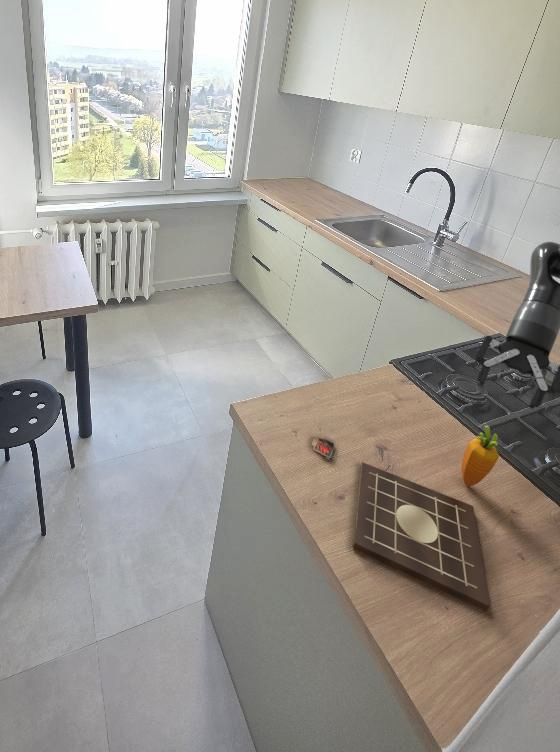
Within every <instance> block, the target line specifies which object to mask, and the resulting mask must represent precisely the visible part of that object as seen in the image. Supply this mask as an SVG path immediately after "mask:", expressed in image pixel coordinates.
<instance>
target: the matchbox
mask: <svg viewBox="0 0 560 752" xmlns="http://www.w3.org/2000/svg"><path fill="white" fill-rule="evenodd" d="M311 446H313V448H312V450H314V451H316V452H317V453H320V454H321V455H322V456H325V457H324V458H325V459H326V460H328V461H332V459H330V458H331V457H332V455H333V452H334V449H335V443H334V442H333V441H331V440H328V439H326V438H322V437H318V438H313V439H311Z"/></svg>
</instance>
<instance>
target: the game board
mask: <svg viewBox="0 0 560 752" xmlns="http://www.w3.org/2000/svg"><path fill="white" fill-rule="evenodd" d="M358 479H359V480H358V489H357V499H356V500H357V501H356V513H355V520H354V532H353V540H352V542H353V543H352V548H353V549H354V550H356V551H358V552H361V553H363V554H365V555H366V556H369V557H371V558H373V559H375V560H378V561H380V562H381V563H384V564H386V565H388V566H390V567H392V568H394V569H397V570H398V571H401V572H403V573H405V574H406V575H409V576H411V577H413V578H414V579H418V580H419V581H422V582H424V583H426V584H428V585H430V586H432V587H434V588H436V589H439V590H440V591H442V592H444V593H447V594H449V595H452V596H454V597H456V598H457V599H460V600H462V601H464V602H466V603H468V604H470V605H472V606H474V607H477V608H478V609H480V610H483V611H485V612H488V610H489V609H490V607H491V604H490V599H489V592H488V585H487V580H486V575H485V567H484V563H483V562H484V561H483V556H482V551H481V545H480V538H479V532H478V526H477V521H476V514H475V507H474V505H472V504H469V503H466V502H464V501H462V500H459V499H457V498H454V497H452V496H449V495H447V494H444V493H441V492H439V491H437V490H434V489H432V488H429V487H427V486H423V485H421V484H418V483H416V482H414V481H411V480H408V479H406V478H404V477H401V476H398V475H397V474H394V473H392V472H388V471H386V470H383V469H380V468H379V467H376V466H373V465H371V464H368V463H365V462H363V461H361V464H360V468H359V478H358Z"/></svg>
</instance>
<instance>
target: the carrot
mask: <svg viewBox="0 0 560 752" xmlns="http://www.w3.org/2000/svg"><path fill="white" fill-rule="evenodd" d="M484 432H485V434H484V433H483V432H479V435H477V437H475V438H473V439H472V440H470V442H468V444H467V446H466V448H465V451H464V454H463V457H462V461H461V476H462V480H463V483H464V485H465V486H466V487H473V486H476V485H477V484H479V483H480V482H481V481H483V480H484V479H485V478H486V476H488V475H489V474H490V472H492V469H493V468H494V466H495V465H496V463H497V461H498V460H499V457H500V454H499V452H498V450H497V449H496V447H497V446H498V445H499V443H498V442H497V440H498V438H499V436H498V435H497V433H492V434H493V435H491V428H490V426H489V425H484ZM491 436H492V437H491Z"/></svg>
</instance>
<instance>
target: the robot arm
mask: <svg viewBox="0 0 560 752" xmlns="http://www.w3.org/2000/svg"><path fill="white" fill-rule="evenodd" d="M529 266H530V268H529V269H530V271H529V272H530V275H529V284H528V288H527V290H526V292H525V295H524V297H523V300H522V301H521V304H520V305H519V307H518V308H517V310H516V312H515V314H514V316H513V317H512V321H511V323H510V326H509V328H508V330H507V333H506V335H505V337H504V338H503V339H504V340H502V341H498V340H496V339H494V338H493V337H492V336H491V335H486V336H485V337H484V340H483V341H482V343H481V344H480V347H479V348H478V350H477V352H476V354H475V356H474V361H475V363H477V364H479V365H480V366H481V368H480V371H479V373H478V375H477V378H476V380H477V382H479V383H478V385H480V386H481V387H484V384H485V382H486V380H487V378H488V375H489V373H490V372H491V371H490V370H491V369H492V368H495V367H499V366H501V365H503V364H504V365H506V367H507V368H509V369H513V370H516V371H518V372H519V373H522V374H524V375H529V376H530V378H531V380H532V382H533V383H534V386H535V387H536V389H535V390H534V392H533V395H532V396H531V397H532V398H531V400H530V402H529V405H528V408H530V409H534V408H538V407H540V406H541V405H542V402H543V400H544V398H545V395H546V394H549V395H553V396H557V395H558V394H559V393H560V364H558V363H555V362H552V361H550V354H551V352H552V349H553V347H554V345H555V342H556V339H557V337H558V335H559V332H560V282H559V281H557V280H556V279H559V280H560V243H558V242H554V241H545V242H542V243H540V244H538V245H537V246H536V247H535V248H534V249H533V251H532V252H531V256H530V263H529ZM555 278H556V279H555ZM495 347H496V348H498V351H499V355H497V356H494V357H493V358H490V359H488V360H487V359H486V358H484V356H485V355H486V353H487V351H488V350H492V349H494V348H495ZM546 368H549V369H550V373H551V374H552V375H553V379H552V383H551V385H547V383H546V381H545V378H544V375H543V373H542V370H544V369H546Z"/></svg>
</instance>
